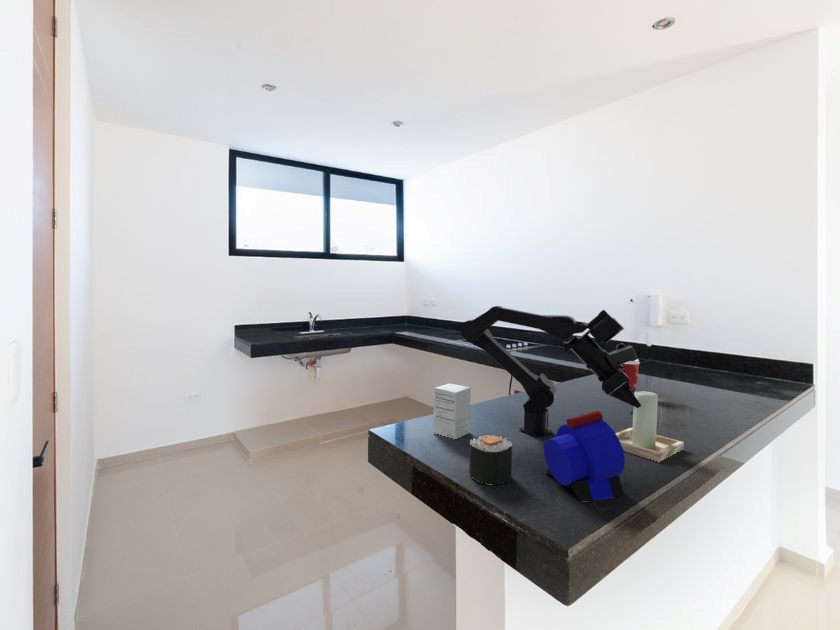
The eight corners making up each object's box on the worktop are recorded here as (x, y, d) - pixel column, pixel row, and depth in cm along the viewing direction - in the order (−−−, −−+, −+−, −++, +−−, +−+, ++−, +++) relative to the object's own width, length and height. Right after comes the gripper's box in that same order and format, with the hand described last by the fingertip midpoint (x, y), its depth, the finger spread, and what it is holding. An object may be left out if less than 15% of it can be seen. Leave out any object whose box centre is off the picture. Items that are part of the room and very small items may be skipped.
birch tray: (658, 462, 95) (659, 453, 95) (604, 444, 105) (605, 436, 105) (683, 450, 102) (684, 442, 102) (630, 434, 113) (631, 427, 113)
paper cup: (642, 399, 150) (644, 360, 149) (621, 398, 150) (622, 360, 149) (631, 393, 158) (633, 357, 157) (611, 393, 158) (613, 356, 157)
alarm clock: (627, 496, 79) (631, 419, 78) (572, 505, 76) (575, 424, 75) (585, 469, 91) (587, 401, 90) (535, 475, 87) (538, 405, 86)
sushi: (518, 478, 86) (519, 440, 85) (489, 489, 81) (490, 449, 80) (490, 464, 92) (491, 429, 92) (461, 473, 88) (462, 436, 87)
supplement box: (448, 426, 117) (449, 382, 116) (470, 433, 112) (471, 387, 112) (432, 433, 111) (433, 387, 111) (455, 440, 107) (456, 392, 106)
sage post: (645, 450, 100) (648, 397, 100) (627, 442, 105) (629, 392, 104) (660, 447, 102) (663, 395, 102) (641, 440, 107) (644, 390, 106)
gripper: (620, 338, 96) (672, 390, 93) (615, 330, 113) (658, 374, 110) (581, 368, 99) (630, 420, 96) (582, 357, 117) (624, 400, 113)
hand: (637, 402), depth 104 cm, fingers open, 9 cm apart
